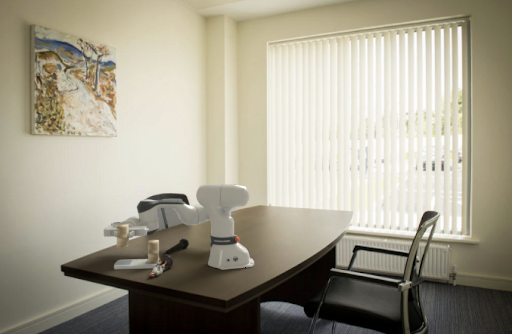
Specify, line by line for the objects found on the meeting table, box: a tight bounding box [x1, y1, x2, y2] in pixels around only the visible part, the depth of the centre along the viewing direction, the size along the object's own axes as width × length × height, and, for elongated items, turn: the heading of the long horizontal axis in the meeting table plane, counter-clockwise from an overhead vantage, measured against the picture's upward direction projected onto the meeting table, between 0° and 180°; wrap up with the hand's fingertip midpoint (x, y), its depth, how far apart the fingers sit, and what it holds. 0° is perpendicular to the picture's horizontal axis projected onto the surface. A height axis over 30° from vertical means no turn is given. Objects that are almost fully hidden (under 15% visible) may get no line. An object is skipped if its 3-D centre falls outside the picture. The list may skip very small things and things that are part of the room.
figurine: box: [148, 254, 174, 279], centre depth 169 cm, size 8×7×18 cm
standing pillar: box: [147, 239, 160, 263], centre depth 179 cm, size 4×4×10 cm
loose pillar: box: [116, 224, 130, 249], centre depth 177 cm, size 4×4×10 cm
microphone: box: [162, 238, 190, 255], centre depth 204 cm, size 6×6×20 cm
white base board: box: [113, 258, 159, 270], centre depth 178 cm, size 21×10×2 cm, turn 97°
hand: (122, 235), depth 176 cm, fingers closed on loose pillar, 4 cm apart
